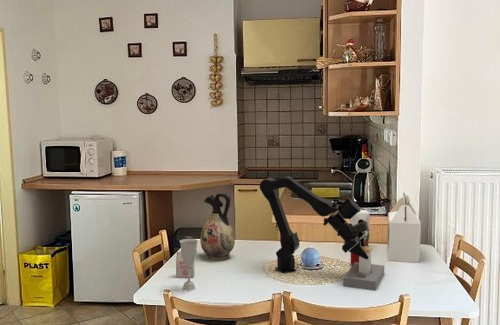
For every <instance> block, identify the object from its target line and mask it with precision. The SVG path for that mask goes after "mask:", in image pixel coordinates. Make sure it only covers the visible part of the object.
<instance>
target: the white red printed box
mask: <svg viewBox="0 0 500 325" xmlns="http://www.w3.org/2000/svg"><path fill="white" fill-rule="evenodd" d="M175 264H176V265H175V270H176V271H175V272H176V273H175V278H178V279H188V277H187V275H188V272H187V269H188V266H186V265H185V263H184V261H183V259H182V256H181V251H177V252H176V259H175ZM190 270H191V272H190V275H191V277H190V279H194V277H195V261H194V262H193V265H191V266H190Z"/></svg>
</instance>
